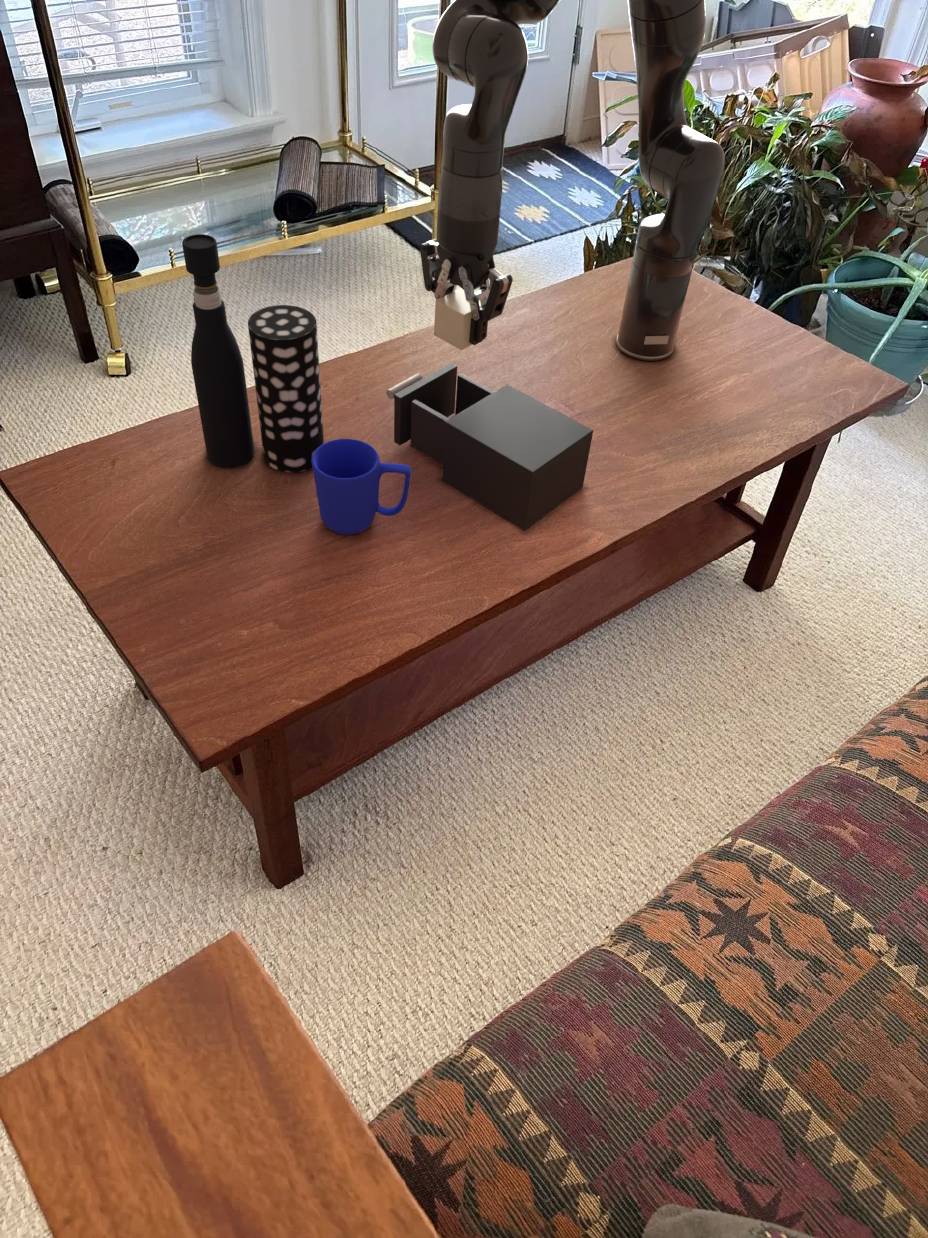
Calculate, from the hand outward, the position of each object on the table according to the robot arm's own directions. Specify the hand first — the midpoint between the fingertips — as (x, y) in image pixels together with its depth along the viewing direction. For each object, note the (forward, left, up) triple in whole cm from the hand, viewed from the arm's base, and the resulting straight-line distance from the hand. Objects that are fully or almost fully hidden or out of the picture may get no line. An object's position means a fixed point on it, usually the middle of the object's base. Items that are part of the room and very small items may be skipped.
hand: (460, 333), depth 125 cm
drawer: (+3, +1, -15) cm, 15 cm away
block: (0, 0, 0) cm, 0 cm away
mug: (+23, +1, -16) cm, 28 cm away
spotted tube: (+17, -15, -16) cm, 28 cm away
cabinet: (+5, +13, -16) cm, 21 cm away
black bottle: (+22, -22, -16) cm, 35 cm away
